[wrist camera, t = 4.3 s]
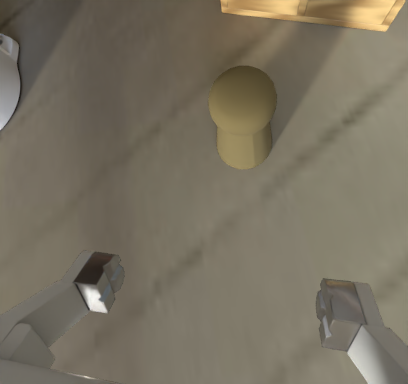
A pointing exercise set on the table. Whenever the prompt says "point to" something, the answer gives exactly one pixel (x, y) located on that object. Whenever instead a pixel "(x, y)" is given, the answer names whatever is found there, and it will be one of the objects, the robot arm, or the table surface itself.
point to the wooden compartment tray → (321, 11)
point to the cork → (243, 115)
